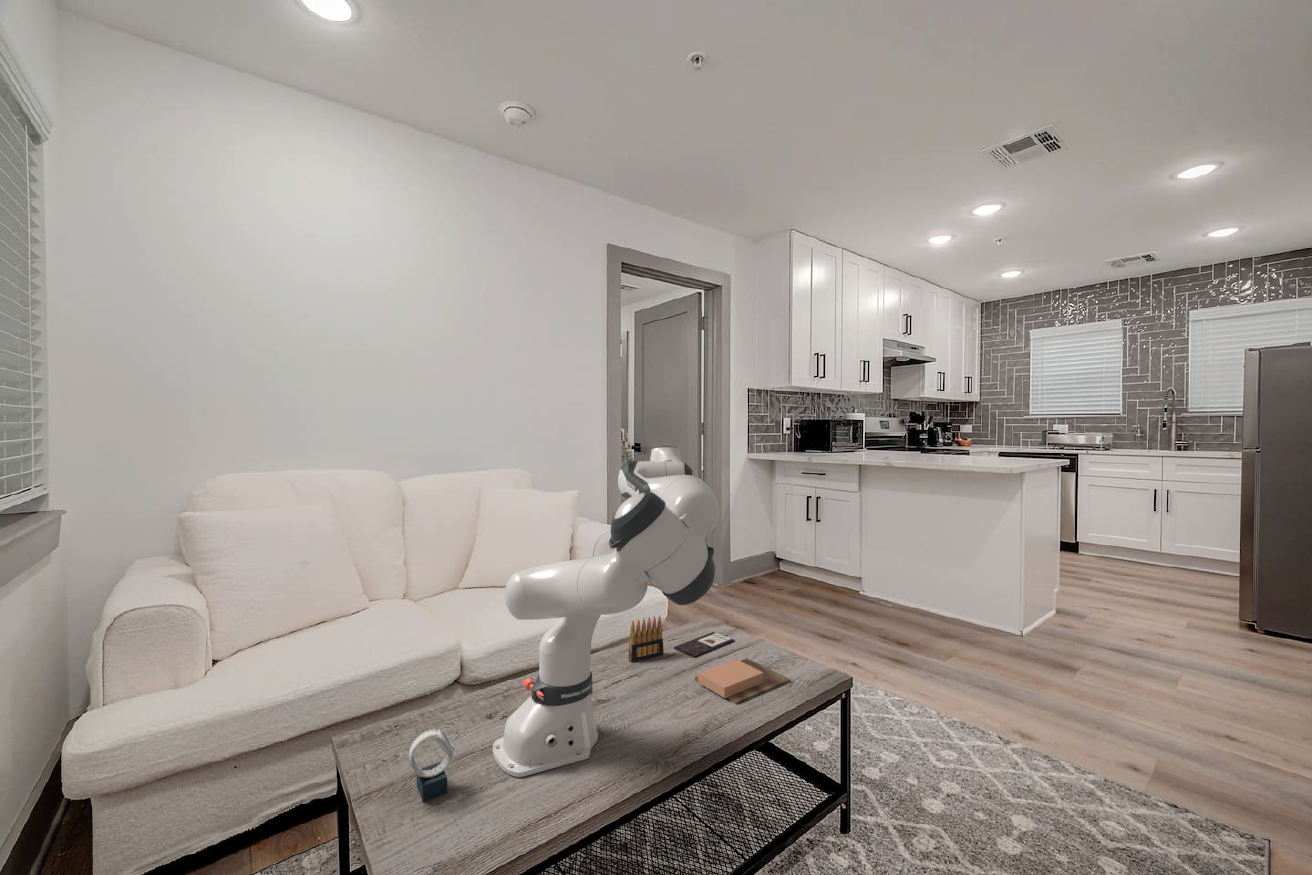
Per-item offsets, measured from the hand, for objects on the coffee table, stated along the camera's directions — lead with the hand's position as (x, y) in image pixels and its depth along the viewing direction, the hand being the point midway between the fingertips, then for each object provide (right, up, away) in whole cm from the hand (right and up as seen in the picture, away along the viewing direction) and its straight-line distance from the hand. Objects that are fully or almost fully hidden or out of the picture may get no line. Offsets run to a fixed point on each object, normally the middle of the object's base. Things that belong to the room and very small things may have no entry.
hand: (666, 558), depth 146 cm
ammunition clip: (-6, -33, +15) cm, 37 cm away
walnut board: (+20, -33, +1) cm, 39 cm away
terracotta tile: (+11, -31, -6) cm, 34 cm away
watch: (-45, -35, -42) cm, 71 cm away
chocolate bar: (+12, -33, +25) cm, 43 cm away
